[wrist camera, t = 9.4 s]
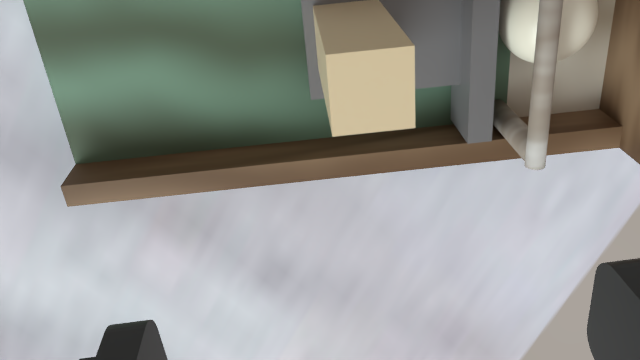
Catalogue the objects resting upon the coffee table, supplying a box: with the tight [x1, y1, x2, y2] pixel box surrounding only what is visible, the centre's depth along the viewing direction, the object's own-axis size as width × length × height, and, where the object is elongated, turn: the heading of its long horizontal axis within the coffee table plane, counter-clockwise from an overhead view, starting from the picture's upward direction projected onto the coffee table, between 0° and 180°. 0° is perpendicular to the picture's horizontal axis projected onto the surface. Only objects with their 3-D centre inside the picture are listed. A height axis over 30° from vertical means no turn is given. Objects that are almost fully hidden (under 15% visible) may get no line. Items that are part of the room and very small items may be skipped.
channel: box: [23, 0, 640, 207], centre depth 27 cm, size 14×30×8 cm, turn 95°
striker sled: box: [301, 0, 500, 144], centre depth 24 cm, size 11×9×10 cm
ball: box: [498, 0, 598, 63], centre depth 27 cm, size 4×4×4 cm
